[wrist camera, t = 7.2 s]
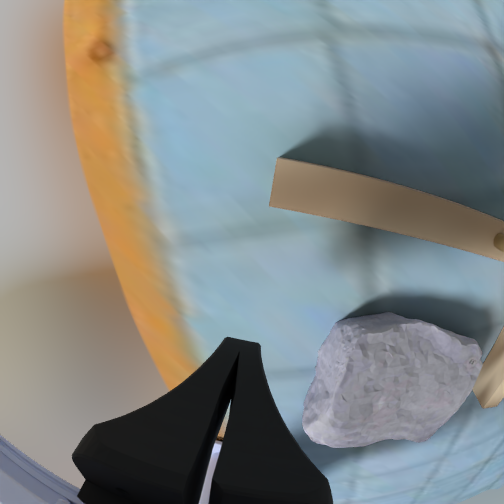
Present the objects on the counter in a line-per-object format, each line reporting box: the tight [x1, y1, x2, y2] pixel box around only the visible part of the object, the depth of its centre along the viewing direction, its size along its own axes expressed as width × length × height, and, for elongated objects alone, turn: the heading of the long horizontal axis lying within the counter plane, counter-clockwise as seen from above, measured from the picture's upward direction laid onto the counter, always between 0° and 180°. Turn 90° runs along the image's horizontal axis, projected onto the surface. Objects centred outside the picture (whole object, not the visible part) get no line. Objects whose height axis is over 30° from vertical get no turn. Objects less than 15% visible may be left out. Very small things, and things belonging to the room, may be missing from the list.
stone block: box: [302, 312, 483, 448], centre depth 16 cm, size 12×5×10 cm
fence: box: [269, 157, 504, 408], centre depth 13 cm, size 13×21×4 cm, turn 81°
